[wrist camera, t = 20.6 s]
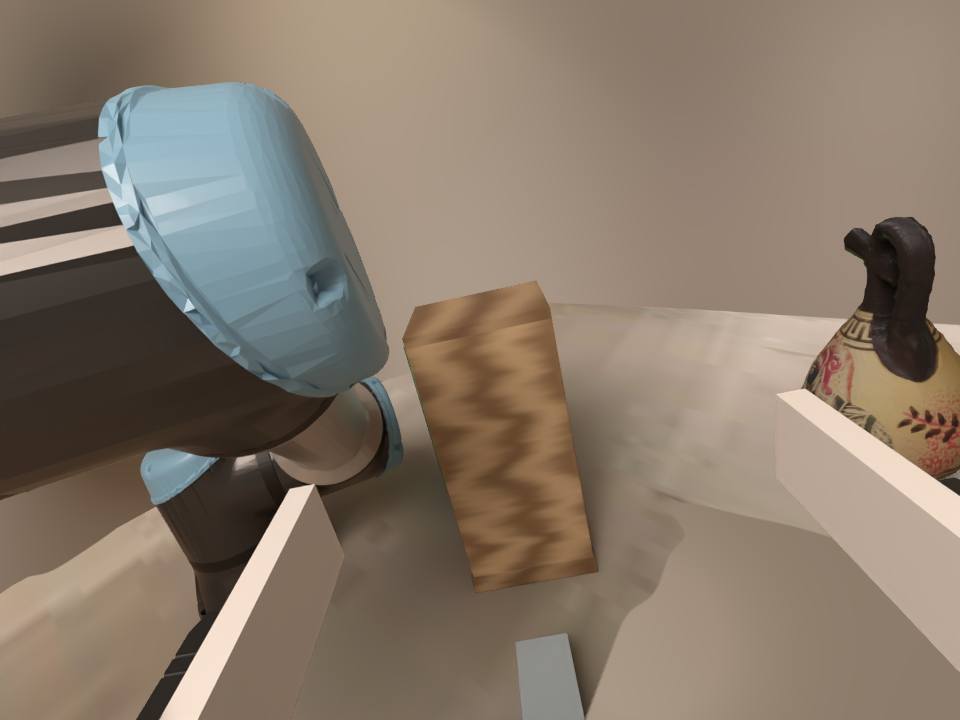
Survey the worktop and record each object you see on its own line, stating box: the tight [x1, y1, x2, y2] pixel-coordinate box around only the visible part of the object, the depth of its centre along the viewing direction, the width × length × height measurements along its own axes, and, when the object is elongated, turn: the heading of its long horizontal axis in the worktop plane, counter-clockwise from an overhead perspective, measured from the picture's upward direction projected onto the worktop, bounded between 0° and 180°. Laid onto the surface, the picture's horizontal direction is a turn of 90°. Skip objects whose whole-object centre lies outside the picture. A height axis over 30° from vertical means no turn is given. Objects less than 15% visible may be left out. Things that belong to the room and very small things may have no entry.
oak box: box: [402, 281, 598, 593], centre depth 53 cm, size 13×10×30 cm
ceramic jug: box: [802, 217, 960, 480], centre depth 51 cm, size 17×15×30 cm
